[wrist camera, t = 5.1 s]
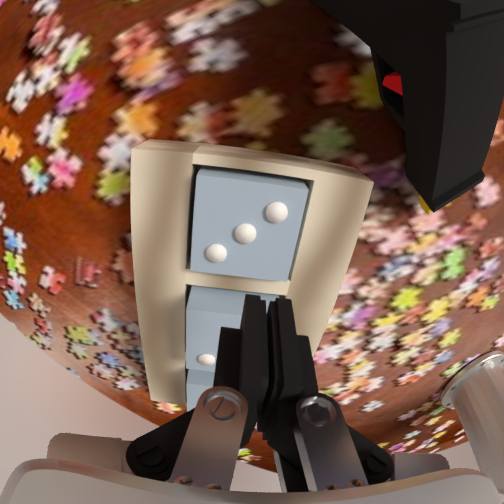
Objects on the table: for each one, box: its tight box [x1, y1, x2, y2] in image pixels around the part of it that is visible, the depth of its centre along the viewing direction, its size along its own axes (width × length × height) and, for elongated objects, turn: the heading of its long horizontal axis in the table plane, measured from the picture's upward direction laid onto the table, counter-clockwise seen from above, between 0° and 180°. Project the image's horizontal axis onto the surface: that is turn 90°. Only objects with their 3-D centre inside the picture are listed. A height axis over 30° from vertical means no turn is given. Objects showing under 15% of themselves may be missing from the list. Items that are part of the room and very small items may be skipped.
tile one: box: [186, 369, 215, 412], centre depth 25 cm, size 6×6×3 cm
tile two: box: [186, 285, 279, 372], centre depth 21 cm, size 6×6×3 cm
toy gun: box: [310, 0, 504, 214], centre depth 14 cm, size 5×18×12 cm
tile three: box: [190, 165, 309, 282], centre depth 18 cm, size 6×6×3 cm
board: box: [131, 139, 374, 406], centre depth 23 cm, size 14×24×4 cm, turn 172°
